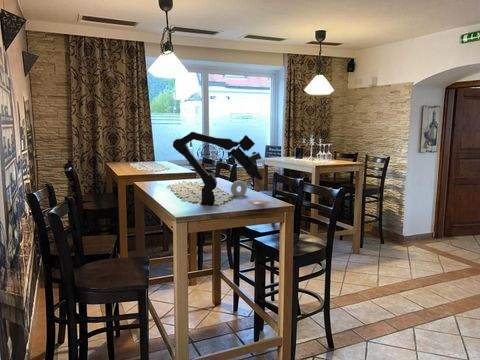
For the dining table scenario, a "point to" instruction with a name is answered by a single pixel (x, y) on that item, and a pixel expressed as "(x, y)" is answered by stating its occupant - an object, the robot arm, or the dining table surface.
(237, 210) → the dining table surface
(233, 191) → the donut
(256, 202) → the coaster
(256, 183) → the walnut block
